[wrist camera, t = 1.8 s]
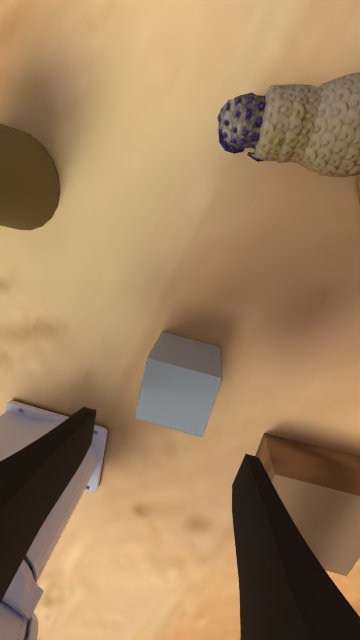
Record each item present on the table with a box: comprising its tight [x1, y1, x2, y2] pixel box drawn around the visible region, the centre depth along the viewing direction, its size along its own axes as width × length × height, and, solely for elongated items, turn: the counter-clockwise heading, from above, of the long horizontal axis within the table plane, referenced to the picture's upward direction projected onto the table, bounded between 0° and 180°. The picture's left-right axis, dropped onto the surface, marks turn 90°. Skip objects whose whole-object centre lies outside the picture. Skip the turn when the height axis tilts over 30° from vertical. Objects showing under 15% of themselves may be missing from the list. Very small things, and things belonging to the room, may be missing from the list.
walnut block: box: [255, 433, 360, 576], centre depth 19 cm, size 8×8×4 cm
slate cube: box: [135, 331, 222, 437], centre depth 17 cm, size 4×4×4 cm
